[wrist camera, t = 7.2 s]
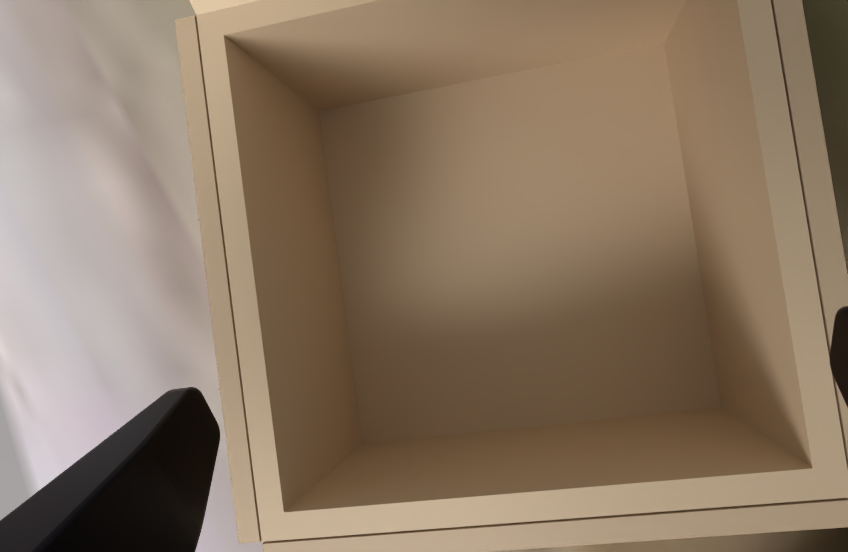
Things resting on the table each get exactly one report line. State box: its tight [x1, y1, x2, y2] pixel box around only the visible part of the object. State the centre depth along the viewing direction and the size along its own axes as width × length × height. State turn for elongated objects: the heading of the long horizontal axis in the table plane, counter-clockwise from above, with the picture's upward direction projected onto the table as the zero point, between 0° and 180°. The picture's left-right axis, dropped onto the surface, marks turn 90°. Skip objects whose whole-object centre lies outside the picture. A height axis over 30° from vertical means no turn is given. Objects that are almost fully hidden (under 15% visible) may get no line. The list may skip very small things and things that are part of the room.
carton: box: [175, 0, 848, 552], centre depth 17 cm, size 13×13×7 cm
